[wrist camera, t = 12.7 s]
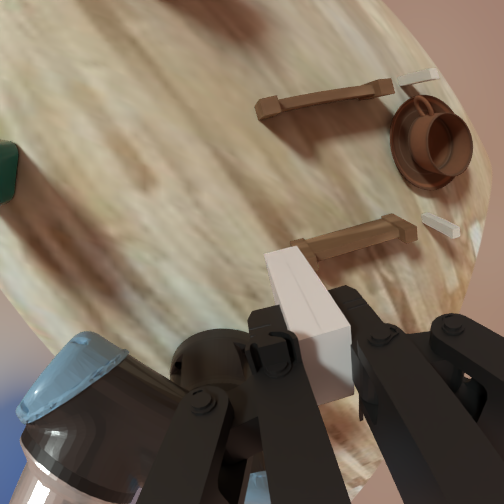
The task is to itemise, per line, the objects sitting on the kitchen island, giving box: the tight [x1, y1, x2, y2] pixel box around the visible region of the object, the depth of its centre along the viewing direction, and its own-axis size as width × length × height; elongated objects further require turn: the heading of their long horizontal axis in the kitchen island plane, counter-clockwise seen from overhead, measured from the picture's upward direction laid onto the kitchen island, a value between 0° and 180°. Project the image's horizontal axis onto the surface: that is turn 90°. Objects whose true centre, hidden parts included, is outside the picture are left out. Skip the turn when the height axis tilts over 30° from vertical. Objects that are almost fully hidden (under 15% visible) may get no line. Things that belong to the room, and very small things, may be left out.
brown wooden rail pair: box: [255, 78, 418, 271], centre depth 31 cm, size 18×14×6 cm
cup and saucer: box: [390, 95, 473, 190], centre depth 30 cm, size 12×12×6 cm
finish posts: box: [397, 68, 460, 239], centre depth 30 cm, size 19×1×7 cm, turn 15°
